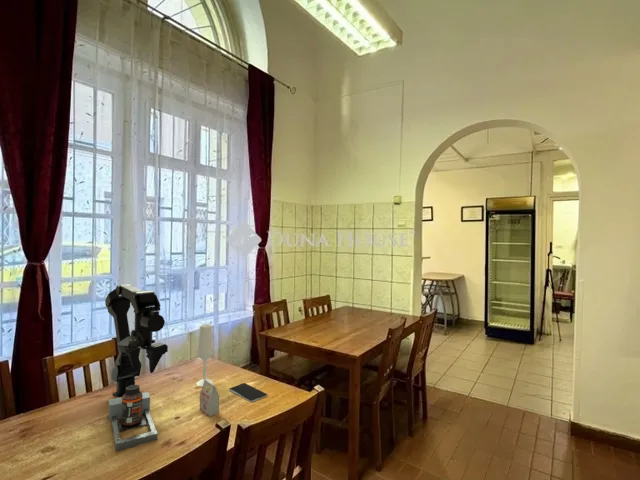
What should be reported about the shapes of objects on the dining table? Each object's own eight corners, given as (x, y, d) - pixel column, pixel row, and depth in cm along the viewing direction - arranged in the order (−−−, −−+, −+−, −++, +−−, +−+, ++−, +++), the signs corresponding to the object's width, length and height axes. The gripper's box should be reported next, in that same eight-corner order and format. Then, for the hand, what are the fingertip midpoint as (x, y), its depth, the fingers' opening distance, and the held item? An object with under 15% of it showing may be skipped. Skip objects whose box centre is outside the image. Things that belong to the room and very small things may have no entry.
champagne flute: (196, 380, 149) (197, 324, 149) (212, 379, 151) (213, 323, 151) (195, 387, 143) (196, 328, 143) (213, 385, 145) (214, 327, 145)
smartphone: (251, 401, 130) (228, 388, 140) (251, 404, 130) (228, 391, 140) (268, 394, 136) (244, 382, 146) (268, 397, 136) (244, 385, 146)
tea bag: (209, 406, 127) (209, 378, 127) (218, 413, 122) (219, 384, 122) (199, 409, 124) (200, 381, 124) (209, 416, 119) (209, 387, 119)
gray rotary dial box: (108, 414, 120) (109, 397, 120) (147, 405, 126) (147, 389, 126) (109, 420, 115) (109, 403, 115) (149, 411, 122) (150, 394, 122)
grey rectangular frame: (111, 421, 115) (111, 414, 115) (148, 412, 121) (148, 406, 121) (115, 451, 99) (115, 444, 99) (157, 440, 105) (157, 433, 105)
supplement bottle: (133, 427, 111) (133, 391, 111) (116, 425, 112) (117, 389, 112) (146, 418, 117) (146, 384, 117) (130, 416, 118) (131, 382, 118)
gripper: (104, 328, 122) (104, 373, 122) (140, 335, 114) (139, 383, 114) (134, 321, 132) (133, 363, 132) (169, 327, 124) (168, 372, 124)
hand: (142, 370), depth 125 cm, fingers open, 9 cm apart
